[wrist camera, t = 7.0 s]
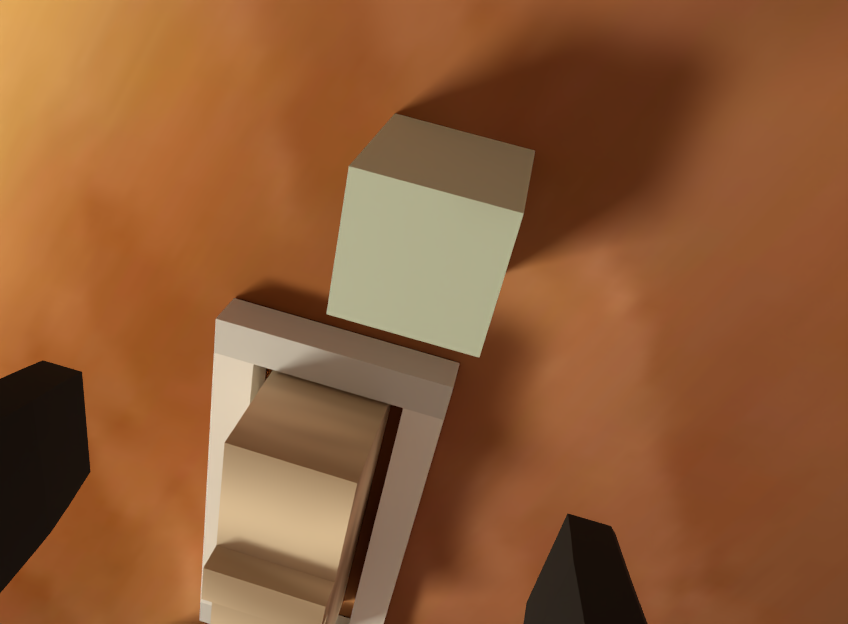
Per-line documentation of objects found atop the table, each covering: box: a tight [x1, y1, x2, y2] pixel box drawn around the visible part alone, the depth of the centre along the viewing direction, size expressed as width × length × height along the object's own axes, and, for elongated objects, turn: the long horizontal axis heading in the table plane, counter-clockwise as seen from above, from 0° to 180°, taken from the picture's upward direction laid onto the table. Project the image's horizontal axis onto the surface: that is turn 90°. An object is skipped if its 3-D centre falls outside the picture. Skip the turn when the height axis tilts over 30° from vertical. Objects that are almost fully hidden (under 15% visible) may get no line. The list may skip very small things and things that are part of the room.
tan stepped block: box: [201, 370, 391, 624], centre depth 22 cm, size 11×4×5 cm, turn 168°
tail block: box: [326, 113, 535, 357], centre depth 16 cm, size 4×4×4 cm
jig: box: [199, 298, 460, 624], centre depth 24 cm, size 14×7×1 cm, turn 168°
